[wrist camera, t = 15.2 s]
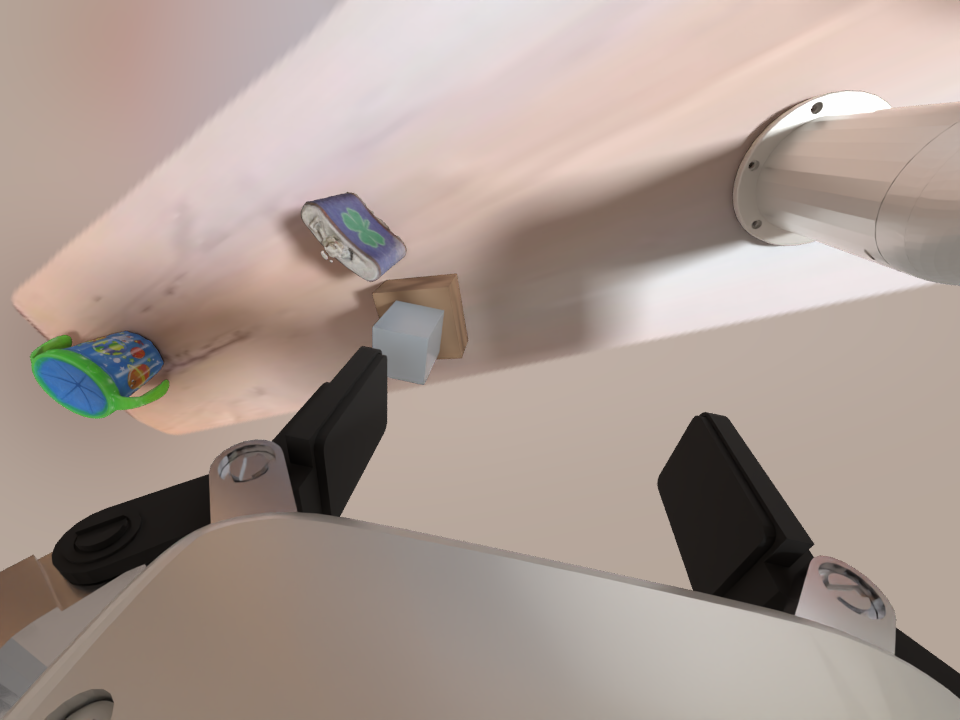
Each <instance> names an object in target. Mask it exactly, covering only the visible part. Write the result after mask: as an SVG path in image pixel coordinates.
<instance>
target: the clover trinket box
mask: <svg viewBox="0 0 960 720" xmlns="http://www.w3.org/2000/svg"><path fill="white" fill-rule="evenodd" d="M301 218H302V220H303V222H304V223H305V225H306V226H307V227H308V228H309V229H310V231H311V232H312V233H313V235H314V236H315V237H316V238H317V240H318V241H319V242H320V243H321V244H322V245H323V246H324V248H325V251H326V253H328V255H329V256H330V257H335V258H336V259H337V260H339V261H340V262H341V263H342V264H343V265H344V266H346V267H347V268H349V269H350V270H352V271H353V272H354V273H355V274H357V275H358V276H360V277H362V278H363V279H365V280H367V281H369V282H373V281H375V280H377V279H378V278H379V277H381V276H382V275H383V274H384V273H385V272H386V271H387V270H389V269H390V268H391V267H392V266H393V265H395V264H396V263H397V262H398V261H400V260H401V259H402V258H403V257H404V256H405V254H406V251H407V249H406V247H405V245H404V243H403V242H402V240H401V239H400V237H399V236H396V235H394V234H393V233H392V232H391V231H390V229H389V227H388V226H387V225H386V224H385V223H384V222H383V221H382V220H380V219H378V218H376V217H375V216H374V215H373V212H372V211H370V210H369V209H368V208H367V207H366V205H365V203H364V202H363V201H362V200H361V199H360V198H359V197H358V195H357V194H354V193H349V192H347V193H345V194H340V195H336V196H331V197H328V198H324V199H318V200H314V201H309V202H306V203H305V205H304V206H303V208H302V210H301ZM321 255H322V257H323V258H324V259H325V260H328V256H327V255H326V254H325V253H324V250H323V251H321ZM330 262H333V261H332V260H330Z"/></svg>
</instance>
